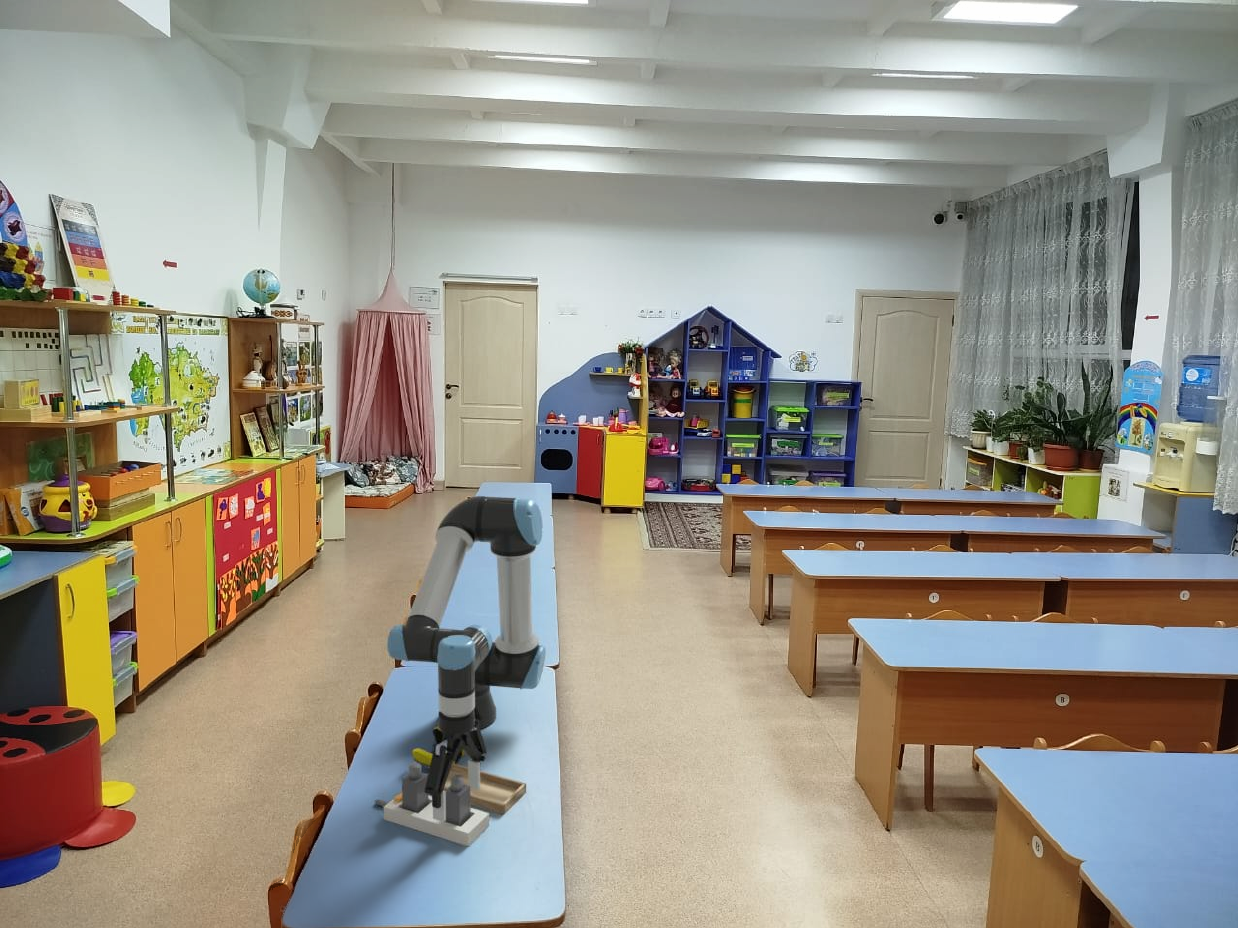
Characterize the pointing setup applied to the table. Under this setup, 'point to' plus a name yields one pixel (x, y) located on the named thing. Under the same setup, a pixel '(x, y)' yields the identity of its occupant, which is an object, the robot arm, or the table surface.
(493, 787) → the tray
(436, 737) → the gaming controller
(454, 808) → the plug
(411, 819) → the strip
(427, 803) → the twin plug
